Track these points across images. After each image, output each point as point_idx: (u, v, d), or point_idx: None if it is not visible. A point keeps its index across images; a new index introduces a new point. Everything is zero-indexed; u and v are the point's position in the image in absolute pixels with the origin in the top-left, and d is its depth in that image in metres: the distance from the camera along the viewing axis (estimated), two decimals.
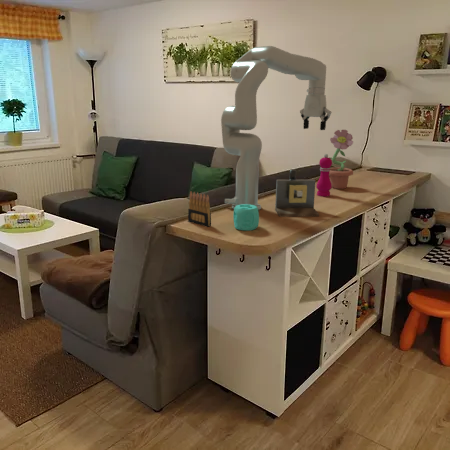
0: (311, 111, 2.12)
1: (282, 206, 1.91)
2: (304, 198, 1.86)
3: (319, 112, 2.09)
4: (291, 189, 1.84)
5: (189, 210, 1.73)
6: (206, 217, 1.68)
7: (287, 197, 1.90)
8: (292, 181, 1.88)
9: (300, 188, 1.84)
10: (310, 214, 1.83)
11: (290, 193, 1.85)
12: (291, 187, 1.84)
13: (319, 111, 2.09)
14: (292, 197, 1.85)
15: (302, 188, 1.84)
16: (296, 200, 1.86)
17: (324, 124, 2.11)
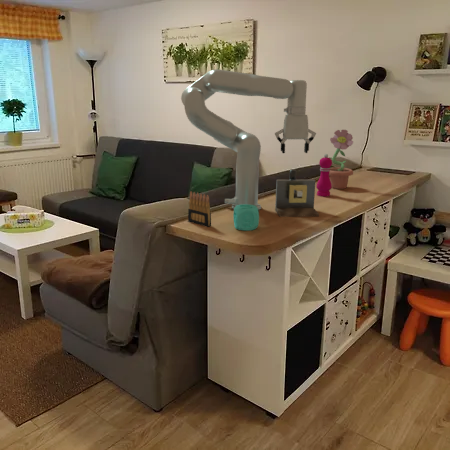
0: (296, 133, 1.88)
1: (282, 206, 1.91)
2: (304, 198, 1.86)
3: (306, 134, 1.88)
4: (291, 189, 1.84)
5: (189, 210, 1.73)
6: (206, 217, 1.68)
7: (287, 197, 1.90)
8: (292, 181, 1.88)
9: (300, 188, 1.84)
10: (310, 214, 1.83)
11: (290, 193, 1.85)
12: (291, 187, 1.84)
13: (306, 133, 1.88)
14: (292, 197, 1.85)
15: (302, 188, 1.84)
16: (296, 200, 1.86)
17: None
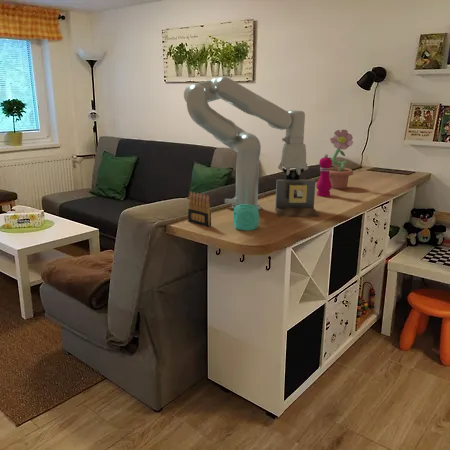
0: (294, 162, 1.91)
1: (282, 206, 1.91)
2: (304, 198, 1.86)
3: (304, 163, 1.92)
4: (291, 189, 1.84)
5: (189, 210, 1.73)
6: (206, 217, 1.68)
7: (287, 197, 1.90)
8: (292, 181, 1.88)
9: (300, 188, 1.84)
10: (310, 214, 1.83)
11: (290, 193, 1.85)
12: (291, 187, 1.84)
13: (304, 162, 1.92)
14: (292, 197, 1.85)
15: (302, 188, 1.84)
16: (296, 200, 1.86)
17: (298, 178, 1.96)
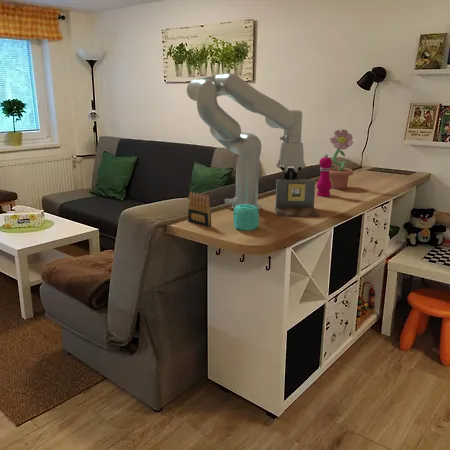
0: (292, 160, 1.96)
1: (282, 206, 1.91)
2: (302, 196, 1.89)
3: (302, 161, 1.97)
4: (290, 188, 1.87)
5: (189, 210, 1.73)
6: (206, 217, 1.68)
7: None
8: (292, 181, 1.88)
9: (299, 187, 1.87)
10: (310, 214, 1.83)
11: (289, 191, 1.88)
12: (290, 186, 1.87)
13: (302, 160, 1.96)
14: (291, 195, 1.88)
15: (300, 187, 1.87)
16: (294, 198, 1.89)
17: (296, 175, 2.01)
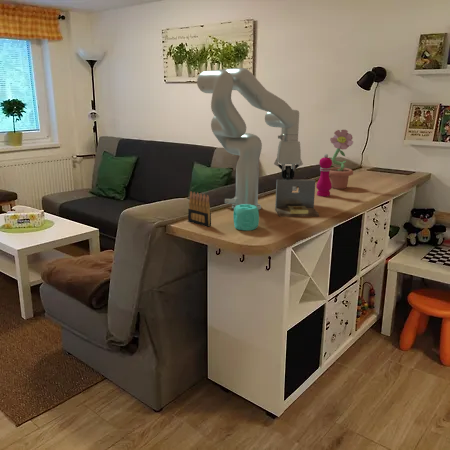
0: (289, 158, 2.02)
1: (282, 206, 1.91)
2: None
3: (299, 159, 2.02)
4: None
5: (189, 210, 1.73)
6: (206, 217, 1.68)
7: (287, 197, 1.90)
8: (292, 181, 1.88)
9: None
10: (310, 214, 1.83)
11: (290, 211, 1.85)
12: None
13: (299, 158, 2.02)
14: None
15: None
16: None
17: (293, 173, 2.07)
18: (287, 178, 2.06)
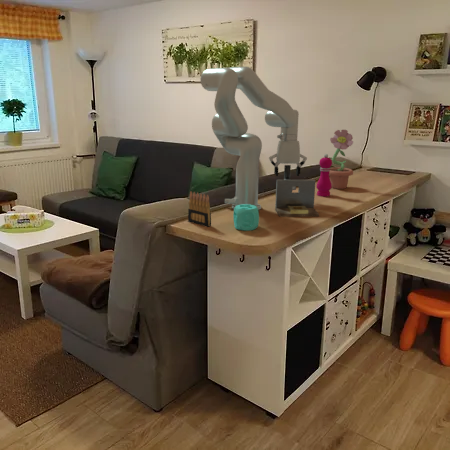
0: (288, 158, 2.04)
1: (282, 206, 1.91)
2: None
3: (298, 158, 2.04)
4: None
5: (189, 210, 1.73)
6: (206, 217, 1.68)
7: (287, 197, 1.90)
8: (292, 181, 1.88)
9: None
10: (310, 214, 1.83)
11: (290, 211, 1.85)
12: None
13: (298, 157, 2.04)
14: None
15: None
16: None
17: (299, 170, 2.08)
18: (286, 177, 2.08)
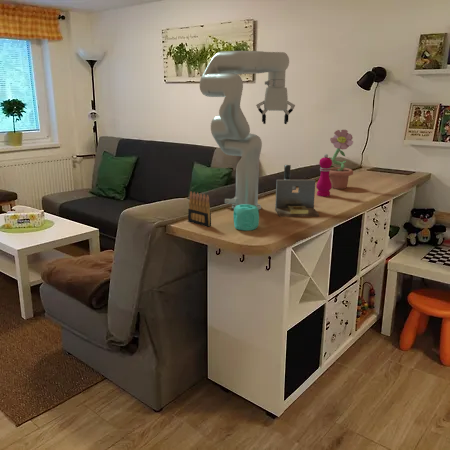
0: (276, 105, 2.01)
1: (282, 206, 1.91)
2: None
3: (286, 105, 2.01)
4: None
5: (189, 210, 1.73)
6: (206, 217, 1.68)
7: (287, 197, 1.90)
8: (292, 181, 1.88)
9: None
10: (310, 214, 1.83)
11: (290, 211, 1.85)
12: None
13: (286, 104, 2.01)
14: None
15: None
16: None
17: None
18: (286, 177, 2.08)
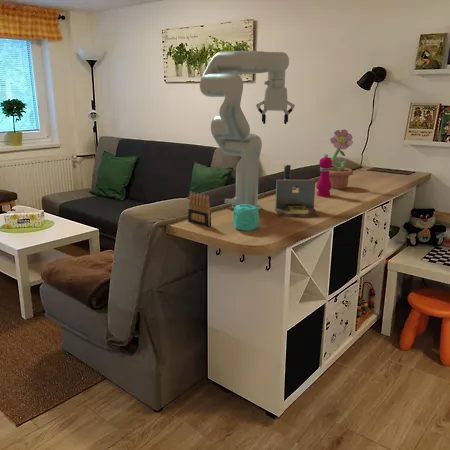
0: (276, 105, 2.01)
1: (282, 206, 1.91)
2: None
3: (286, 105, 2.01)
4: None
5: (189, 210, 1.73)
6: (206, 217, 1.68)
7: (287, 197, 1.90)
8: (292, 181, 1.88)
9: None
10: (310, 214, 1.83)
11: (290, 211, 1.85)
12: None
13: (285, 104, 2.01)
14: None
15: None
16: None
17: (287, 118, 2.05)
18: (286, 177, 2.08)
